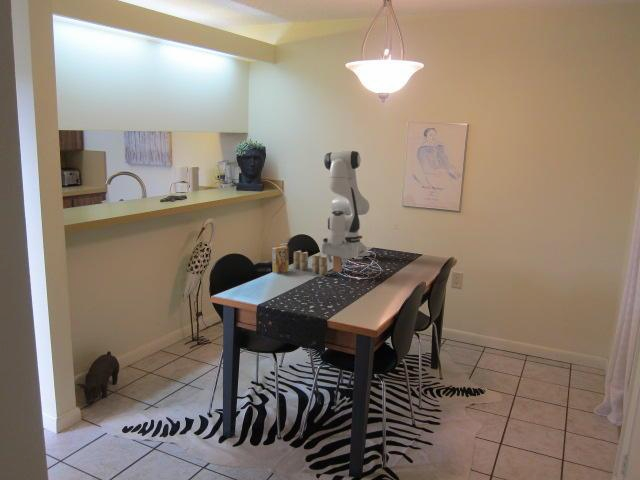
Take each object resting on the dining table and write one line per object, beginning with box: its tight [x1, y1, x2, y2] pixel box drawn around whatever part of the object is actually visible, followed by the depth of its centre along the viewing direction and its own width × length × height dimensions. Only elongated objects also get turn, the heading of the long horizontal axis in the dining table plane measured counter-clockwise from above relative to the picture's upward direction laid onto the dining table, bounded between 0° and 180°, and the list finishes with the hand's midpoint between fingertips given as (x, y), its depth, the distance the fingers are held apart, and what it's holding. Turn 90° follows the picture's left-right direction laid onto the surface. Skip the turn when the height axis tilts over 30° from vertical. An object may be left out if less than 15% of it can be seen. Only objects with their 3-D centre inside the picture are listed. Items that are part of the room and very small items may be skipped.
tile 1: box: [293, 250, 303, 269], centre depth 300 cm, size 5×2×10 cm, turn 138°
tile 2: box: [300, 251, 309, 271], centre depth 296 cm, size 5×2×10 cm, turn 138°
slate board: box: [289, 266, 333, 278], centre depth 294 cm, size 12×24×1 cm, turn 48°
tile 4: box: [312, 254, 322, 274], centre depth 290 cm, size 5×2×10 cm, turn 138°
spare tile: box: [332, 256, 343, 273], centre depth 293 cm, size 5×2×10 cm, turn 48°
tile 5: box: [319, 255, 328, 276], centre depth 287 cm, size 5×2×10 cm, turn 138°
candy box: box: [271, 245, 290, 274], centre depth 292 cm, size 9×4×15 cm, turn 130°
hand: (336, 263), depth 292 cm, fingers open, 8 cm apart
